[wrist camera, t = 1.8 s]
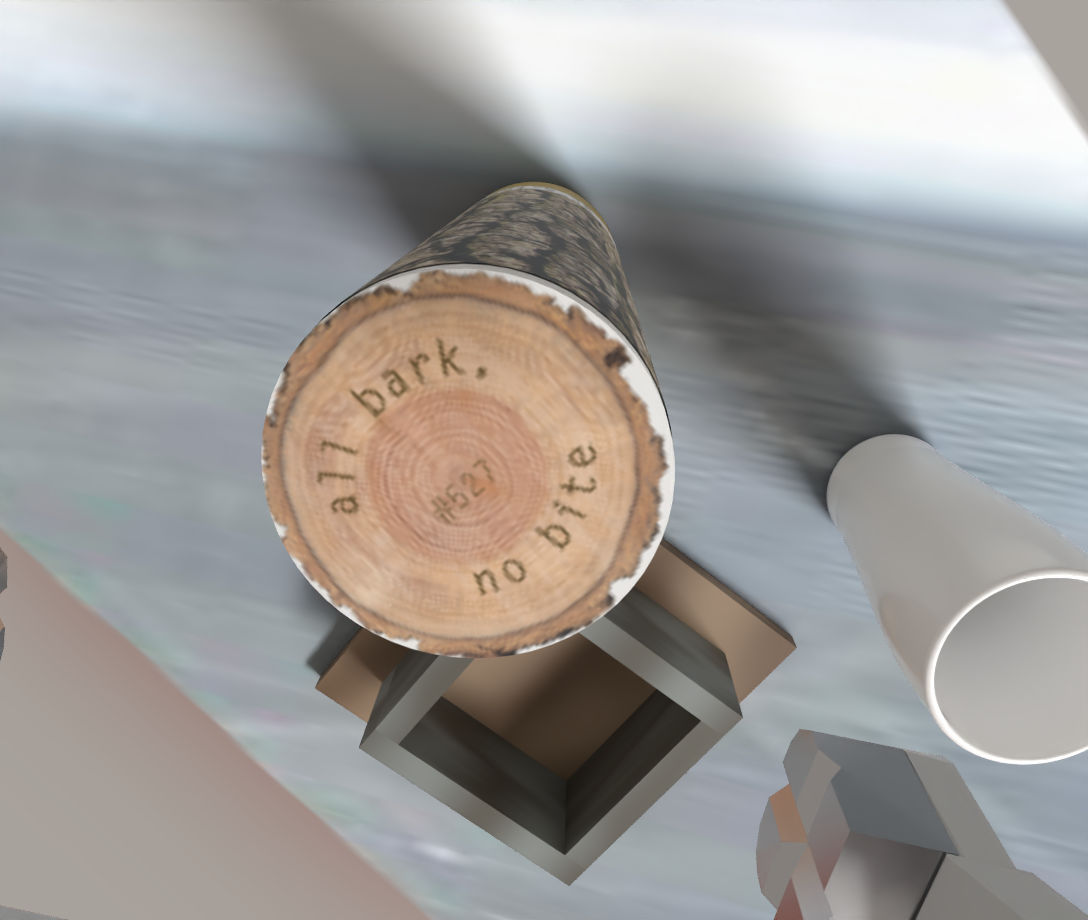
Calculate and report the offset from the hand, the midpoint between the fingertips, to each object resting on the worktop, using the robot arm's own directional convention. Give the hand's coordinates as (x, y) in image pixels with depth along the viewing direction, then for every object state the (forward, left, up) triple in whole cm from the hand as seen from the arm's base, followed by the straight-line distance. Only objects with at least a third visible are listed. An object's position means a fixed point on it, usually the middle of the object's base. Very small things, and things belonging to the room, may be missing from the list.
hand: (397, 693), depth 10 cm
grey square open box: (+12, -14, -31) cm, 36 cm away
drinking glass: (+18, +2, -31) cm, 36 cm away
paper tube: (0, 0, -31) cm, 31 cm away
